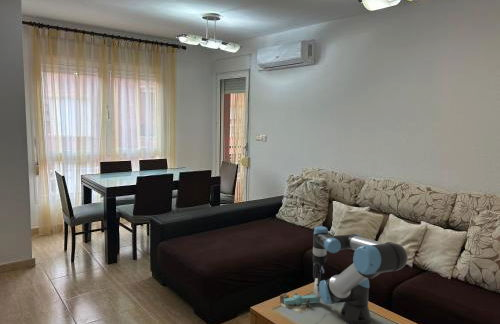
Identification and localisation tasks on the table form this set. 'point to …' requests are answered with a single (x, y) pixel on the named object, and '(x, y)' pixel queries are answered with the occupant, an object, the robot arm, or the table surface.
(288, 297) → the walnut block
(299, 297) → the lever
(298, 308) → the press base
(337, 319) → the table surface
